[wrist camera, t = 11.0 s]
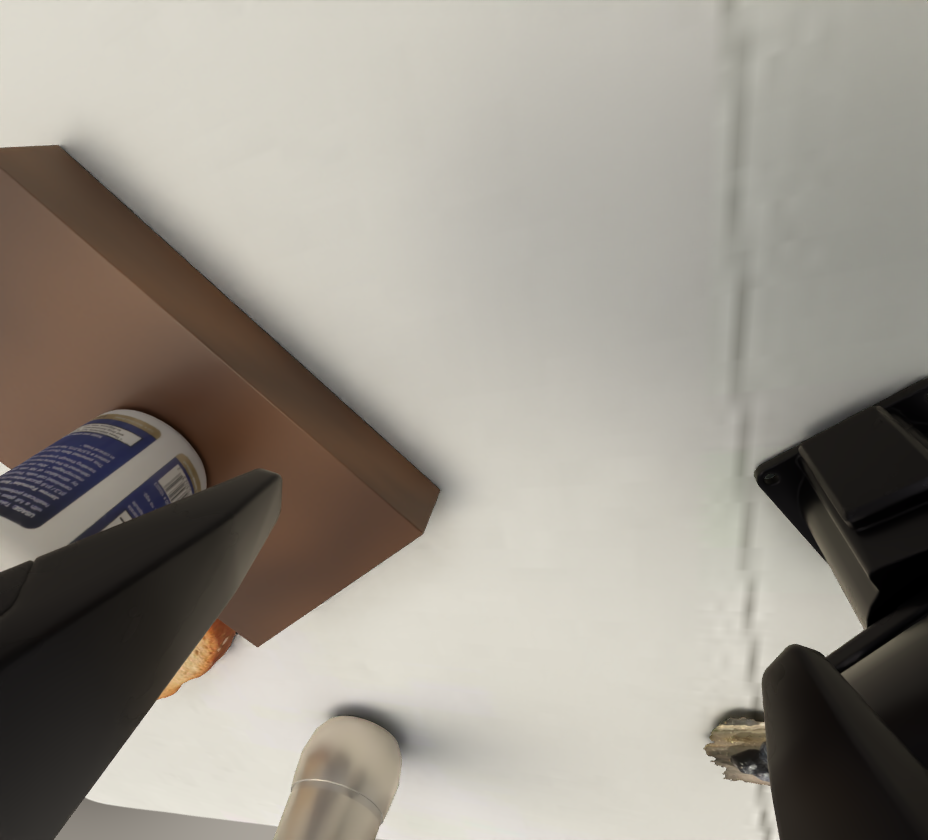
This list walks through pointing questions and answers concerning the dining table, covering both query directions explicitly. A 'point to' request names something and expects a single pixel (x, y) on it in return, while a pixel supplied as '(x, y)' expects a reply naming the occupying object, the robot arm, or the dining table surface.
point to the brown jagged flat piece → (741, 750)
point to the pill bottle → (94, 483)
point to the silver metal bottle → (342, 782)
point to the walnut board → (186, 385)
